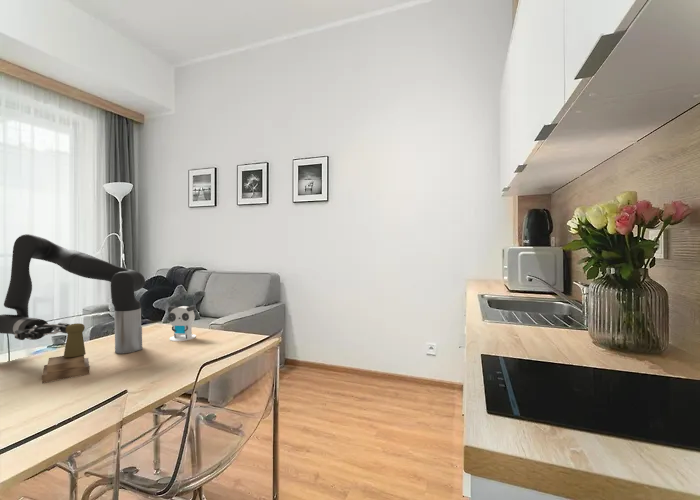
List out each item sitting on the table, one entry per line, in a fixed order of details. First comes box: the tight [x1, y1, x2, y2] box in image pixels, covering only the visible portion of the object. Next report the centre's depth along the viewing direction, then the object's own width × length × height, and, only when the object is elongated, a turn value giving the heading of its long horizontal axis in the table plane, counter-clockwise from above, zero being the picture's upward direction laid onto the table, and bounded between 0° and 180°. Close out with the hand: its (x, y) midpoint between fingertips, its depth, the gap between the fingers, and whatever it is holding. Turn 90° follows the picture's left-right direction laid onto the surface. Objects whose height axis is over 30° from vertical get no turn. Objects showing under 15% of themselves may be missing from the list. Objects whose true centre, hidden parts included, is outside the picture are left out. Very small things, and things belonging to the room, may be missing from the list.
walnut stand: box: [41, 355, 90, 384], centre depth 116 cm, size 12×12×5 cm
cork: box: [63, 322, 86, 357], centre depth 119 cm, size 6×6×11 cm
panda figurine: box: [167, 305, 197, 342], centre depth 159 cm, size 12×11×15 cm
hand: (53, 333), depth 119 cm, fingers open, 8 cm apart
